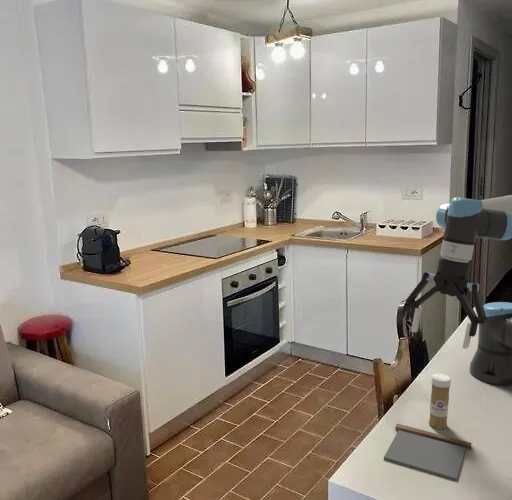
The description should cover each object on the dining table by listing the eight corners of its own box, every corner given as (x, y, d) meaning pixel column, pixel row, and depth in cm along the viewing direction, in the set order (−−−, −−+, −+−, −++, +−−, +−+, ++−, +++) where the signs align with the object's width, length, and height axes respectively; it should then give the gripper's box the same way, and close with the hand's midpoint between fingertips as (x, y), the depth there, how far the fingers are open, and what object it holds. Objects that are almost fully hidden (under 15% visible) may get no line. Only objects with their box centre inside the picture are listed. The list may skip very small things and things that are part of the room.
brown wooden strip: (396, 427, 135) (397, 423, 135) (471, 446, 126) (471, 442, 126) (395, 429, 134) (395, 426, 134) (470, 449, 125) (470, 445, 125)
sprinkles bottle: (431, 429, 134) (435, 381, 131) (426, 420, 138) (429, 373, 135) (449, 429, 134) (453, 381, 131) (443, 420, 138) (447, 372, 135)
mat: (398, 432, 133) (398, 430, 133) (465, 450, 125) (465, 447, 125) (383, 459, 122) (383, 457, 122) (456, 480, 114) (456, 478, 114)
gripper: (402, 249, 137) (388, 327, 140) (503, 271, 121) (484, 357, 125) (414, 248, 142) (400, 323, 146) (511, 269, 127) (493, 352, 130)
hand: (439, 339), depth 135 cm, fingers open, 13 cm apart
